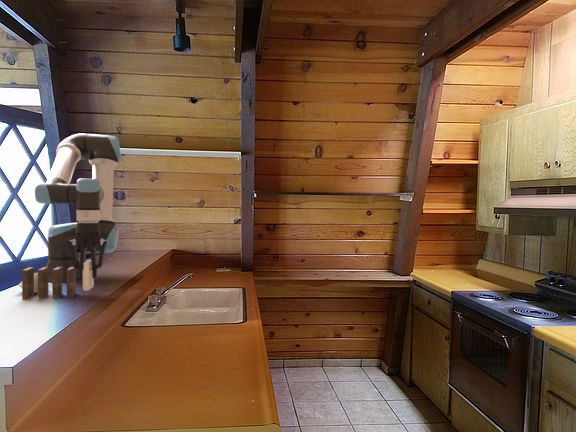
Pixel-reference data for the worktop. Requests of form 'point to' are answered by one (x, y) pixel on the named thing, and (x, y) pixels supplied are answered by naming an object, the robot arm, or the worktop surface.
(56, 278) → the domino
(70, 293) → the domino
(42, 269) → the domino
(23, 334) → the worktop surface
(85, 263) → the domino
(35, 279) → the seashell
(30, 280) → the domino
